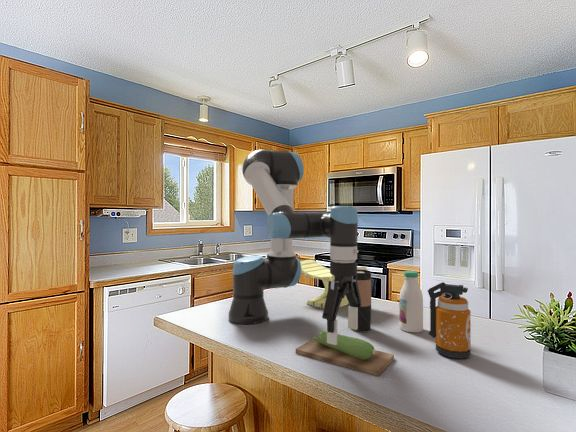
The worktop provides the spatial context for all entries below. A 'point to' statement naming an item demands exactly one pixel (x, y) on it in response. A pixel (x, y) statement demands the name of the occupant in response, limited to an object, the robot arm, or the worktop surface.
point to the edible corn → (348, 345)
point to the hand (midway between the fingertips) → (343, 335)
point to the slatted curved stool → (320, 272)
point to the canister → (450, 320)
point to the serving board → (346, 358)
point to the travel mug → (364, 300)
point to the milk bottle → (411, 304)
